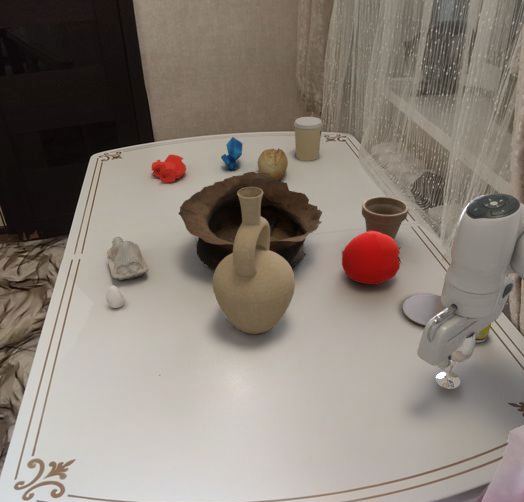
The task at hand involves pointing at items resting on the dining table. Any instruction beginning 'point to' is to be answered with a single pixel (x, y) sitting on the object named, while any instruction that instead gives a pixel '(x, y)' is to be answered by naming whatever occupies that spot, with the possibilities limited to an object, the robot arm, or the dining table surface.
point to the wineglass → (459, 355)
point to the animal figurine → (169, 168)
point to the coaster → (422, 308)
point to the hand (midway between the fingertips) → (453, 357)
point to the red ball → (371, 258)
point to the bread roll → (273, 163)
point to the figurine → (125, 259)
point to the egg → (114, 297)
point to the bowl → (230, 217)
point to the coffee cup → (307, 138)
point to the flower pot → (384, 214)
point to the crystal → (232, 153)
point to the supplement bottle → (483, 334)
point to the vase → (253, 273)
